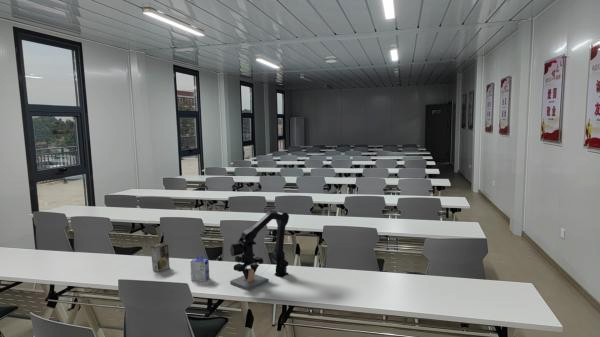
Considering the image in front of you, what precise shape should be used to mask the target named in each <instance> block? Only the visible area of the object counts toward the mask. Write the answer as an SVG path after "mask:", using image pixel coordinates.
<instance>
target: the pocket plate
mask: <svg viewBox="0 0 600 337" xmlns="http://www.w3.org/2000/svg"><path fill="white" fill-rule="evenodd" d="M229 282H230V285H232V286H235V287H237V288H240V289H242V290H245V291H248V292H249V291H252V290H254V289H256V288H259V287H261V286H263V285H265V284H267V283H269V282H270V280H269V278H266V277H263V276H262V275H260V274H259V275H258V274H254V281H251V282H247V281H245V276H244V275H241V276H239V277H237V278H234V279H232V280H230V281H229Z"/></svg>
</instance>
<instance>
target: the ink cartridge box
mask: <svg viewBox="0 0 600 337" xmlns="http://www.w3.org/2000/svg"><path fill="white" fill-rule="evenodd" d="M189 263H190V279H191V280H190V281H194V282H195V281H196V282H198V281H199V282H207V281H208V280H209V279H210V264H209V263H210V262H209V258H204V255H197V258H193V259H192V260H191V261H190V262H189Z"/></svg>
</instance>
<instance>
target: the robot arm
mask: <svg viewBox="0 0 600 337" xmlns="http://www.w3.org/2000/svg"><path fill="white" fill-rule="evenodd" d="M272 220H275V222H276V225H277V227H276V228H277V229H276V239H275V247H274V250H271V254H270V258H271V261H272V262H273V263H274V264H275V273H274V276H277V277H280V278H283V277H285V276H287V275H289V272H287V271H288V270H287V269H288V268H287V267H288V266H289V261H287V260H286V259H285V258H286V257H285V252H284V245H285V244H284V243H285V232H286V226H287V225H288V223H289V220H290V215H289V213H287V212H285V211H282V210H279V211H267V212H266V214H265V215H264V216H263V217H261V218H260V219H259V220H258V221H257V222H255V224H253V226H251V227H248V228H247V229H245V230H243V231H242V232H241V236H240V237H239V239H238V241H237V243H231V245H230V247H229V251H230V252H229V253H230V255H231V257H234V260H235V263H237V264H234V265H233V270H234V271H237V272H240V273H241V272H242V275H243V276H245V279H247V278H248V270H249V268H250V269H253V270H254V274H255V273H256V272H257V269H258V267H259V266H260V265H262V264H264V259H263V258H262V257H259V256H255V253H254V245H257V242H255V239H256V237H257V236H258V234H259V232H260V231H261V230H262V229H263V228H265V226H266V225H268V224H269V223H271V221H272ZM239 255H241V256H239ZM249 266H250V267H249ZM248 267H249V268H248Z"/></svg>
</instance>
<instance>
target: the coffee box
mask: <svg viewBox="0 0 600 337" xmlns="http://www.w3.org/2000/svg"><path fill="white" fill-rule="evenodd" d="M150 252H151V254H150V255H151V265H152V268H151V269H152V271H155V272H157V273H159V272H162V271H163V270H167V269H170V266H171V265H170V257H169V255H170V254H169V244H167V243H164V242H161V243H158V244H155V245H152V246H150Z"/></svg>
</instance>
